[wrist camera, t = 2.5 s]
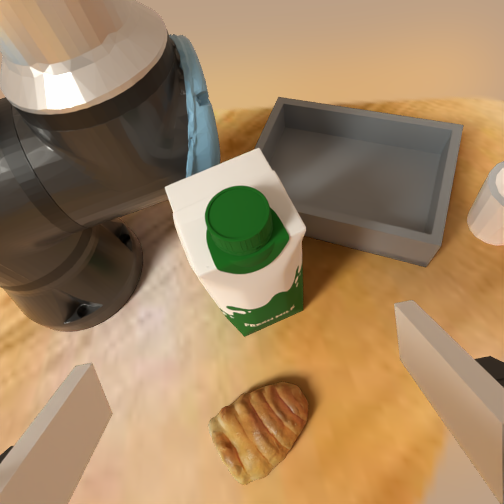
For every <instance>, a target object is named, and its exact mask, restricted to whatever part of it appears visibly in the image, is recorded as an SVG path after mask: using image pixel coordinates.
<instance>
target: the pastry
mask: <svg viewBox="0 0 504 504" xmlns="http://www.w3.org/2000/svg"><path fill="white" fill-rule="evenodd" d="M308 407H309V405H308V402H307V400H306V398H305V396H304V395H303V393H302V392H301V390H300V388H299V387H298V386H297V385H295V384H291V383H286V382H279V383H276V384H274V385H267V386H263V387H261V388H259V389H257V390H255V391H253V392H251V393H245V394H242V395H241V396H240V397H239V398H238V399H237V400H236V401H235V402H233V403H232V404H231V405H230V406H225V407H224V408H222V409H221V411H220V412H219V414H218V415H217V416H216V417H214V418H212V419H211V420H210V422H209V425H208V426H209V433H210V435H211V437H212V440H213V443H214V444H215V447H216V449H217V451H218V453H219V456H220V458H221V460H222V461H223V463H224V464H225V465H226V466H227V467H228V470H229V472H230V473H231V474H232V475H233V477H234V478H235V480H236V481H238V482H239V483H240V484H243V485H247V484H248V483H250V482H252V481H254V480H259V479H262V478H264V477H266V476H267V475H268V474H269V473H270V472H271V471H272V469H273V468H274V467H276V466H277V465H278V463H280V462H281V461H282V460H284V458H285V457H286V455H287V453H288V452H289V451H290V449H291V448H292V446H293V444H294V442H295V441H296V439H297V437H298V436H299V435H300V433H301V431H302V429H303V427H304V425H305V424H306V422H307V415H308Z"/></svg>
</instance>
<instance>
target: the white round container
mask: <svg viewBox="0 0 504 504" xmlns="http://www.w3.org/2000/svg"><path fill="white" fill-rule="evenodd" d="M467 223H468V227H469V229H470V231H471V232H472V233H473V234H474V235H475V237H477V238H478V239H480V240H482V241H483V242H485V243H488V244H492V245H496V246H498V245H504V161H503V162H501V163H498V164H497V165H496V166H495V167H494V168H493V169H492V170H491V171H490V173H489V174H488V176H487V178H486V180H485V182H484V184H483V186H482V188H481V190H480V192H479V193H478V195H477V197H476V199H475V201H474V203H473V205H472V207H471V209H470V211H469V213H468V217H467Z"/></svg>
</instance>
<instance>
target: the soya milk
mask: <svg viewBox="0 0 504 504" xmlns="http://www.w3.org/2000/svg"><path fill="white" fill-rule="evenodd" d="M165 190H166V193H167V196H168V199H169V202H170V205H171V207H172V210H173V219H174V224H175V227H176V230H177V233H178V236H179V239H180V241H181V244H182V246H183V248H184V251H185V253H186V256H187V259H188V261H189V264H190V266H191V267H192V269H193V270H194V272H195V274H196V275H197V277H198V278H199V280H200V281H201V283H202V284H203V286H204V287H205V289H206V290H207V291H208V293H209V294H210V296H211V297H212V298H213V300H214V301H215V303H216V304H217V305H218V307H219V308H220V309H221V311H222V312H223V314H224V315H225V316H226V317H227V319H228V320H229V321H230V322H231V323H232V324H233V325H234V326H235V327H236V328H237V329H238V330H239V331H240V332H241V333H242V334H243V336H244V337H245V336H247V335H249V334H252V333H254V332H256V331H258V330H261V329H263V328H265V327H267V326H269V325H272V324H274V323H276V322H278V321H281V320H283V319H285V318H287V317H289V316H292V315H294V314H296V313H298V312H301V311H303V266H302V239H303V237H304V234H305V232H306V226H305V224H304V223H303V221H302V219H301V217H300V216H299V214H298V212H297V210H296V208H295V207H294V205H293V203H292V201H291V200H290V198H289V196H288V194H287V192H286V190H285V188H284V186H283V184H282V183H281V181H280V179H279V177H278V175H277V174H276V172H275V171H274V170H272V169H271V167H270V165H269V163H268V162H267V160H266V158H265V156H264V155H263V153H262V151H261V150H260V148H257V149H254V150H252V151H249V152H247V153H245V154H242V155H240V156H237V157H235V158H233V159H230V160H228V161H225V162H223V163H221V164H218V165H216V166H213V167H211V168H209V169H206V170H204V171H202V172H199V173H197V174H194V175H192V176H190V177H187V178H185V179H182V180H180V181H178V182H175V183H173V184H170V185H168V186H166V187H165Z"/></svg>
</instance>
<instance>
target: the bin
mask: <svg viewBox="0 0 504 504" xmlns="http://www.w3.org/2000/svg"><path fill="white" fill-rule="evenodd" d="M462 130H463V125H460V124H453V123H447V122H440V121H434V120H427V119H420V118H414V117H407V116H401V115H394V114H388V113H381V112H374V111H368V110H361V109H355V108H348V107H341V106H335V105H328V104H322V103H315V102H308V101H302V100H295V99H288V98H281V97H278V99H277V101H276V103H275V106H274V108H273V110H272V112H271V114H270V116H269V118H268V121H267V123H266V125H265V127H264V129H263V131H262V133H261V136H260V138H259V140H258V142H257V144H256V146H255V148H254V149H257V148H260V150H261V151H262V153H263V155H264V156H265V158H266V160H267V162H268V163H269V165H270V167H271V169H272V170H274V171H275V172H276V174H277V175H278V177H279V179H280V181H281V183H282V184H283V186H284V188H285V190H286V192H287V194H288V196H289V198H290V200H291V201H292V203H293V205H294V207H295V208H296V210H297V212H298V214H299V216H300V217H301V219H302V221H303V223H304V224H305V226H306V232H305V234H304V236H307V237H311V238H315V239H319V240H322V241H326V242H330V243H334V244H338V245H342V246H346V247H350V248H353V249H357V250H361V251H365V252H369V253H373V254H377V255H381V256H384V257H388V258H392V259H396V260H400V261H404V262H408V263H412V264H415V265H419V266H423V267H426V266H427V265H428V264H429V262H430V261H431V260H432V258H433V257H434V255H435V254H436V253H437V251H438V250H439V248H440V247H441V244H442V239H443V233H444V228H445V222H446V217H447V211H448V206H449V201H450V195H451V190H452V184H453V179H454V173H455V168H456V163H457V157H458V152H459V146H460V141H461V135H462Z"/></svg>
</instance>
